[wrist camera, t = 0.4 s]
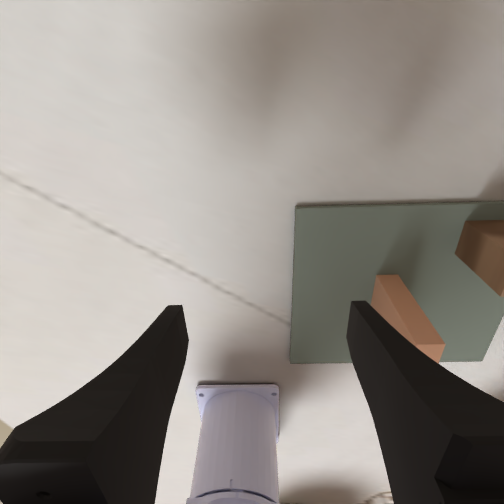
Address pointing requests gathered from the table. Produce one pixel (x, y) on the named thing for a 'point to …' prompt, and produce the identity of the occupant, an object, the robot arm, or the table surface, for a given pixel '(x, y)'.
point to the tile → (406, 315)
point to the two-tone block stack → (484, 251)
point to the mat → (389, 263)
